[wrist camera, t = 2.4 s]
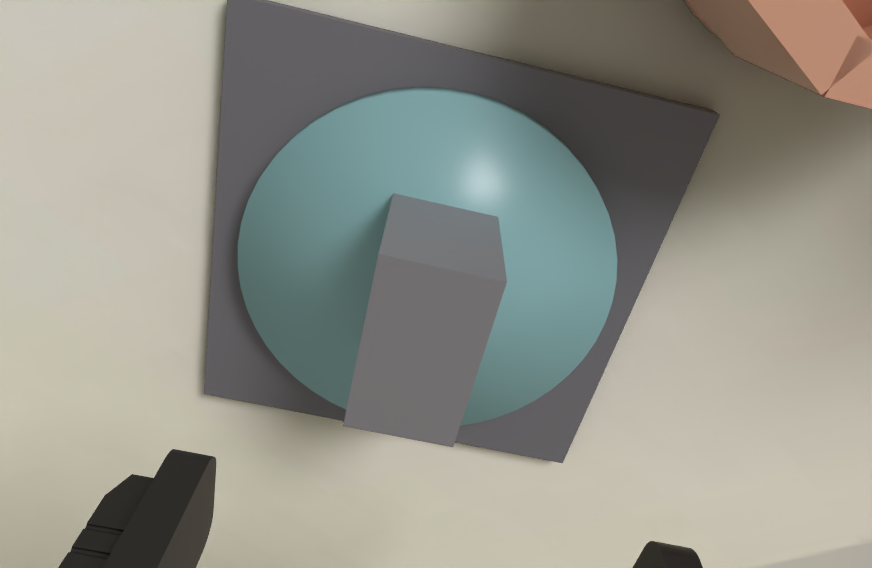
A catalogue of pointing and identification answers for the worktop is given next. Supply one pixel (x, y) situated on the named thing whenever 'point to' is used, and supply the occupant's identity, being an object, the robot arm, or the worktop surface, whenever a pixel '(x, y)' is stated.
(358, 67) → the mat
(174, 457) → the robot arm
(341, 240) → the lid
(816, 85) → the bowl
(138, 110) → the worktop surface
